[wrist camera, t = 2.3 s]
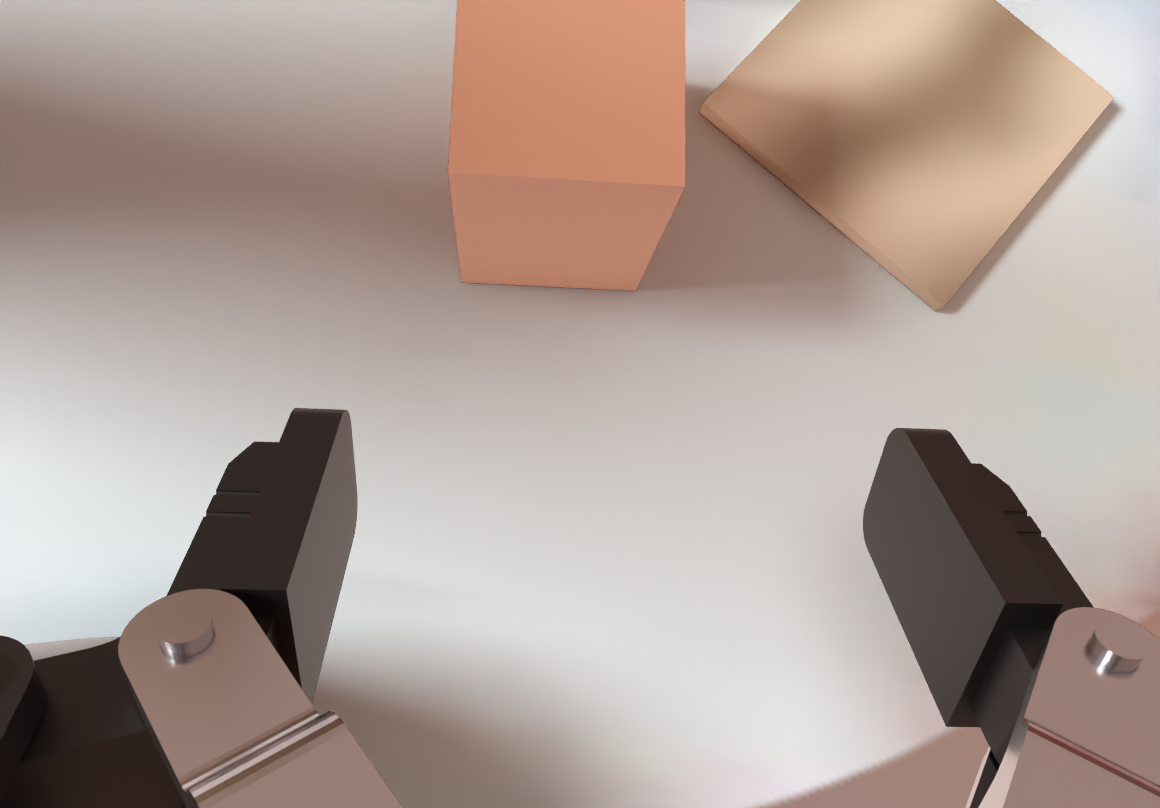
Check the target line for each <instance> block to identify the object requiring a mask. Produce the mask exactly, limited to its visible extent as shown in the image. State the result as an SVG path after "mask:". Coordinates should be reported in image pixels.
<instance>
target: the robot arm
mask: <svg viewBox="0 0 1160 808" xmlns="http://www.w3.org/2000/svg"><path fill="white" fill-rule="evenodd" d="M356 519H357V486H356V475H355V463H354V452H353V441H352V429H351V420H350V415H349V412H348V411H347V410H335V409H307V408H295V409H293V411H292V412H291V414H290V417H289V419H288V422H287V424H286V427H285V429H284V432H283V434H282V437H281V439H280V442H253V443H252V444H251V445H250V446H249V447H247V448H246V449H245V450H244V451H243V452H242V453H241V454H239V455H238V456H237V457H236V458H235V459H234V460H232V461H231V462H230V463H229V464H228V466H227V468H226V470H225V472H224V475H223V477H222V479H221V481H220V483H219V485H218V487H217V489H216V495H214V496H213V498H212V500H211V502H210V504H209V507H208V509H207V511H206V517H203V519H202V521H201V524H200V526H199V528H198V530H197V532H196V534H195V536H194V539H193V541H192V543H191V545H190V547H189V549H188V551H187V554H186V556H185V558H184V560H183V562H182V564H181V566H180V568H179V571H178V573H177V575H176V577H175V579H174V581H173V583H172V586H171V588H170V590H169V592H168V594H167V596H166V597H163V598H161V599H159V600H157V601H155V602H153V603H152V604H150V605H149V606H147V607H146V608H144V609H143V610H142V611H140V612H139V613H138V614H137V615H136V616H135V617H134V618H133V619H132V620H131V621H130V622H129V624H128V625H127V626H126V628H125V629H124V631H123V633H122V635H121V637H119V638H117V639H115V640H112V641H110V642H107V643H104V644H102V645H98V646H95V647H91V648H87V649H83V650H79V651H74V652H70V653H65V654H61V655H56V656H52V657H48V658H43V659H39V660H34V661H33V658H32V656H31V654H30V651H29V650H28V649H27V648H26V647H25V645H23V644H22V643H20V642H19V641H17V640H15V639H12V638H9V637H5V636H0V808H402V806H401V805H400V804H399V802H398V801H397V799H396V798H395V796H394V795H393V793H392V792H391V790H390V789H389V787H388V786H387V785H386V783H385V782H384V780H383V779H382V777H381V776H380V774H379V773H378V771H377V770H376V769H375V767H374V766H373V764H372V763H371V761H370V760H369V758H368V757H367V755H366V754H365V753H364V751H363V750H362V748H361V747H360V745H359V744H358V742H357V741H356V739H355V738H354V736H353V735H352V734H351V732H350V731H349V729H348V728H347V726H346V725H345V724H344V722H343V721H342V720H341V719H340V718H339V717H338V716H337V715H336V714H335V713H333V712H330V711H329V712H327V713H325V714H323V715H320V714H319V713H318V712H317V711H316V710H315V708H314V707H313V705H312V702H313V698H314V694H315V690H316V686H317V682H318V678H319V674H320V670H321V666H322V662H323V658H324V654H325V650H326V646H327V642H328V638H329V634H330V630H331V626H332V622H333V618H334V614H335V610H336V606H337V602H338V598H339V594H340V590H341V586H342V582H343V578H344V574H345V570H346V566H347V562H348V558H349V554H350V550H351V546H352V542H353V538H354V534H355V528H356ZM863 531H864V538H865V543H866V546H867V549H868V551H869V553H870V556H871V558H872V560H873V562H874V565H875V567H876V569H877V571H878V574H879V576H880V578H881V580H882V583H883V585H884V587H885V589H886V592H887V594H888V596H889V598H890V601H891V603H892V605H893V607H894V610H895V612H896V614H897V616H898V619H899V621H900V623H901V625H902V628H903V630H904V632H905V634H906V637H907V639H908V641H909V643H910V646H911V648H912V650H913V652H914V655H915V657H916V659H917V662H918V664H919V666H920V668H921V671H922V673H923V675H924V677H925V680H926V682H927V684H928V686H929V689H930V691H931V693H932V695H933V698H934V700H935V702H936V704H937V707H938V709H939V711H940V713H941V716H942V718H943V720H944V722H945V725H946V727H980V728H981V730H982V732H983V734H984V736H985V738H986V740H987V742H988V744H989V748H988V750H987V752H986V754H985V756H984V758H983V760H982V763H981V766H980V768H979V771H978V774H977V777H976V780H975V782H974V785H973V788H972V791H971V793H970V796H969V799H968V802H967V804H966V807H965V808H1160V640H1159V639H1158V638H1157V637H1156V636H1155V635H1154V634H1152V633H1151V632H1150V631H1148V630H1147V629H1146V628H1144V627H1143V626H1141V625H1139V624H1138V623H1136V622H1134V621H1132V620H1130V619H1128V618H1126V617H1124V616H1122V615H1119V614H1116V613H1114V612H1111V611H1107V610H1103V609H1098V608H1094V607H1093V606H1092V604H1091V603H1090V602H1089V600H1088V599H1087V597H1086V596H1085V594H1084V593H1083V591H1082V590H1081V589H1080V587H1079V586H1078V584H1077V583H1076V581H1075V580H1074V578H1073V577H1072V576H1071V574H1070V573H1069V571H1068V570H1067V568H1066V567H1065V565H1064V564H1063V563H1062V561H1061V560H1060V558H1059V557H1058V555H1057V554H1056V552H1055V551H1054V550H1053V548H1052V547H1051V545H1050V544H1049V542H1048V541H1047V540H1046V538H1045V537H1041V531H1040V529H1039V528H1038V527H1037V525H1036V524H1035V522H1034V521H1033V519H1032V518H1031V516H1027V511H1026V509H1025V508H1024V506H1023V505H1022V503H1021V502H1020V501H1019V499H1018V498H1017V496H1016V495H1015V493H1014V492H1013V490H1012V489H1011V488H1010V486H1009V485H1007V484H1006V483H1005V482H1003V481H1002V480H1001V479H1000V478H998V477H997V476H996V475H995V474H993V473H992V472H991V471H989V470H988V469H987V468H986V467H984V466H983V465H982V464H971V462H970V461H969V459H968V458H967V456H966V455H965V453H964V452H963V450H962V449H961V447H960V446H959V444H958V443H957V441H956V440H955V438H954V437H953V435H952V434H951V433H950V432H949V431H947V430H938V429H910V428H896V429H894V430H893V431H892V432H891V433H890V434H889V436H888V438H887V441H886V443H885V446H884V450H883V453H882V456H881V459H880V462H879V465H878V468H877V471H876V474H875V477H874V480H873V483H872V487H871V490H870V493H869V496H868V499H867V502H866V505H865V509H864V516H863Z"/></svg>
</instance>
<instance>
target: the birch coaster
mask: <svg viewBox="0 0 1160 808" xmlns="http://www.w3.org/2000/svg"><path fill="white" fill-rule="evenodd" d="M1113 98H1114V96H1113V95H1111V94H1110V93H1109V92H1108V91H1106V90H1105V89H1104V88H1103V87H1102V86H1100V85H1099V84H1098V83H1097V82H1095V81H1094V80H1093V79H1092V78H1090V77H1089V76H1088V75H1087V74H1086V73H1084V72H1083V71H1082V70H1081V69H1079V68H1078V67H1077V66H1076V65H1074V64H1073V63H1072V62H1071V61H1069V60H1068V59H1067V58H1066V57H1065V56H1063V55H1062V54H1061V53H1060V52H1058V51H1057V50H1056V49H1055V48H1053V47H1052V46H1051V45H1050V44H1049V43H1047V42H1046V41H1045V40H1044V39H1042V38H1041V37H1040V36H1039V35H1037V34H1036V33H1035V32H1034V31H1032V30H1031V29H1030V28H1029V27H1028V26H1026V25H1025V24H1024V23H1023V22H1021V21H1020V20H1019V19H1018V18H1016V17H1015V16H1014V15H1013V14H1012V13H1010V12H1009V11H1008V10H1007V9H1005V8H1004V7H1003V6H1002V5H1000V4H999V3H998V2H997V1H995V0H801V1H800V2H799V3H798V4H797V5H796V6H795V7H794V8H793V9H792V10H791V11H790V12H789V13H788V14H787V15H786V16H785V17H784V19H783V20H782V21H781V22H780V23H779V24H778V25H777V26H776V27H775V28H774V29H773V30H772V31H771V32H770V33H769V34H768V35H767V36H766V37H765V38H764V39H763V40H762V42H761V43H760V44H759V45H758V46H757V47H756V48H755V49H754V50H753V51H752V52H751V53H750V54H749V55H748V56H747V57H746V58H745V59H744V60H743V61H742V62H741V63H740V65H739V66H738V67H737V68H736V69H735V70H734V71H733V72H732V73H731V74H730V75H729V76H728V77H727V78H726V79H725V80H724V81H723V82H722V83H721V84H720V85H719V87H718V88H717V89H716V90H715V91H714V92H713V93H712V94H711V95H710V96H709V97H708V98H707V99H706V100H705V101H704V102H703V104H702V107H701V109H700V111H699V112H700V113H701V114H702V115H703V116H705V117H706V118H707V119H708V120H709V121H711V122H712V123H713V124H714V125H715V126H717V127H718V128H719V129H720V130H721V131H722V132H724V133H725V134H726V135H727V136H728V137H730V138H731V139H732V140H733V141H734V142H736V143H737V144H738V145H739V146H740V147H741V148H743V149H744V150H745V151H746V152H747V153H749V154H750V155H751V156H752V157H753V158H754V159H756V160H757V161H758V162H759V163H760V164H762V165H763V166H764V167H765V168H766V169H768V170H769V171H770V172H771V173H772V174H773V175H775V176H776V177H777V178H778V179H779V180H781V181H782V182H783V183H784V184H785V185H787V186H788V187H789V188H790V189H791V190H792V191H794V192H795V193H796V194H797V195H798V196H800V197H801V198H802V199H803V200H804V201H805V202H807V203H808V204H809V205H810V206H811V207H813V208H814V209H815V210H816V211H817V212H819V213H820V214H821V215H822V216H823V217H824V218H826V219H827V220H828V221H829V222H830V223H832V224H833V225H834V226H835V227H836V228H837V229H839V230H840V231H841V232H842V233H843V234H845V235H846V236H847V237H848V238H849V239H851V240H852V241H853V242H854V243H855V244H856V245H858V246H859V247H860V248H861V249H862V250H864V251H865V252H866V253H867V254H868V255H870V256H871V257H872V258H873V259H874V260H875V261H877V262H878V263H879V264H880V265H881V266H883V267H884V268H885V269H886V270H887V271H888V272H890V273H891V274H892V275H893V276H894V277H896V278H897V279H898V280H899V281H900V282H902V283H903V284H904V285H905V286H906V287H907V288H909V289H910V290H911V291H912V292H913V293H915V294H916V295H917V296H918V297H919V298H920V299H922V300H923V301H924V302H925V303H926V304H928V305H929V306H930V307H931V308H932V309H934V310H935V311H937V310H939V309H940V308H942V307H943V306H945V305H946V304H947V302H948V301H949V300H950V299H951V297H952V296H953V295H954V294H955V293H956V291H957V290H958V289H959V288H960V286H961V285H962V284H963V283H964V281H965V280H966V279H967V278H968V277H969V275H970V274H971V273H972V272H973V270H974V269H975V268H976V267H977V265H978V264H979V263H980V262H981V261H982V259H983V258H984V257H985V256H986V254H987V253H988V252H989V251H990V249H991V248H992V247H993V246H994V245H995V243H996V242H997V241H998V240H999V238H1000V237H1001V236H1002V235H1003V233H1004V232H1005V231H1006V230H1007V229H1008V227H1009V226H1010V225H1011V224H1012V222H1013V221H1014V220H1015V219H1016V217H1017V216H1018V215H1019V214H1020V213H1021V211H1022V210H1023V209H1024V208H1025V206H1026V205H1027V204H1028V203H1029V201H1030V200H1031V199H1032V198H1033V197H1034V195H1035V194H1036V193H1037V192H1038V190H1039V189H1040V188H1041V187H1042V185H1043V184H1044V183H1045V182H1046V181H1047V179H1048V178H1049V177H1050V176H1051V174H1052V173H1053V172H1054V171H1055V169H1056V168H1057V167H1058V166H1059V165H1060V163H1061V162H1062V161H1063V160H1064V158H1065V157H1066V156H1067V155H1068V153H1069V152H1070V151H1071V150H1072V149H1073V147H1074V146H1075V145H1076V144H1077V142H1078V141H1079V140H1080V139H1081V137H1082V136H1083V135H1084V134H1085V133H1086V131H1087V130H1088V129H1089V128H1090V126H1091V125H1092V124H1093V123H1094V122H1095V120H1096V119H1097V118H1098V117H1099V115H1100V114H1101V113H1102V112H1103V110H1104V109H1105V108H1106V107H1107V106H1108V104H1109V103H1110V102H1111V101H1112V99H1113Z"/></svg>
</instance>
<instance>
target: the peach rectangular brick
mask: <svg viewBox="0 0 1160 808" xmlns="http://www.w3.org/2000/svg"><path fill="white" fill-rule="evenodd" d="M448 177H449V185H450V193H451V201H452V210H453V218H454V226H455V234H456V243H457V251H458V259H459V268H460V276H461V282H465V283H485V284H505V285H525V286H545V287H565V288H585V289H606V290H626V291H636V289H637V287H638V285H639V283H640V281H641V279H642V277H643V275H644V273H645V270H646V268H647V266H648V264H649V262H650V260H651V258H652V256H653V254H654V252H655V249H656V247H657V245H658V243H659V241H660V239H661V237H662V235H663V233H664V230H665V228H666V226H667V224H668V222H669V220H670V218H671V216H672V214H673V212H674V209H675V207H676V205H677V203H678V201H679V199H680V197H681V195H682V193H683V191H684V188H685V0H457V16H456V34H455V52H454V71H453V89H452V108H451V126H450V145H449V163H448Z"/></svg>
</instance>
